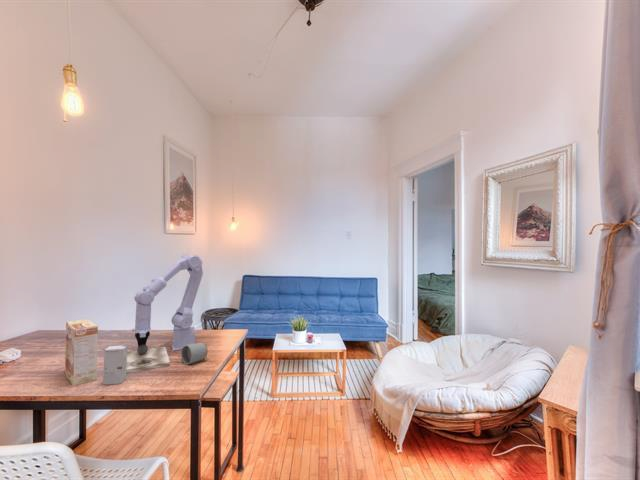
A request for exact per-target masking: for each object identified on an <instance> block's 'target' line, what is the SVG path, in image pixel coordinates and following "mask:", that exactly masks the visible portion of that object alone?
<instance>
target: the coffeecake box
mask: <svg viewBox="0 0 640 480" xmlns="http://www.w3.org/2000/svg"><path fill="white" fill-rule="evenodd" d="M65 322H66V323H65V328H66V329H65V358H64V360H65V363H64V365H65V366H64V375H65V376H66V378H67V379H68V381H69V382H70V384H71V386H73V387H74V386H78V385H82V384H83V385H84V384H86V383H90V382H94V381H97V377H98V376H97V374H98V373H97V372H98V371H97V370H98V341H99V340H98V334H99V333H98V331H99V328H98V327H99V326H98V325H97V324H96V323H94V322H93V321H92V320H90V319H89V318H84V319H77V320H76V319H75V320H69V321H65Z"/></svg>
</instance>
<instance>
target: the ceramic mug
mask: <svg viewBox="0 0 640 480" xmlns="http://www.w3.org/2000/svg"><path fill="white" fill-rule="evenodd" d="M207 356H208V347H207V344H205V343H204V342H195V344H190V345H185V346H184V347H183V348H182V349H181V353H180V357H181V361H182V362H183V364H185V365H186V366H188V365H191V364H194V363H197V362H200V361H203V360H204V359H206V358H207Z"/></svg>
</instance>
